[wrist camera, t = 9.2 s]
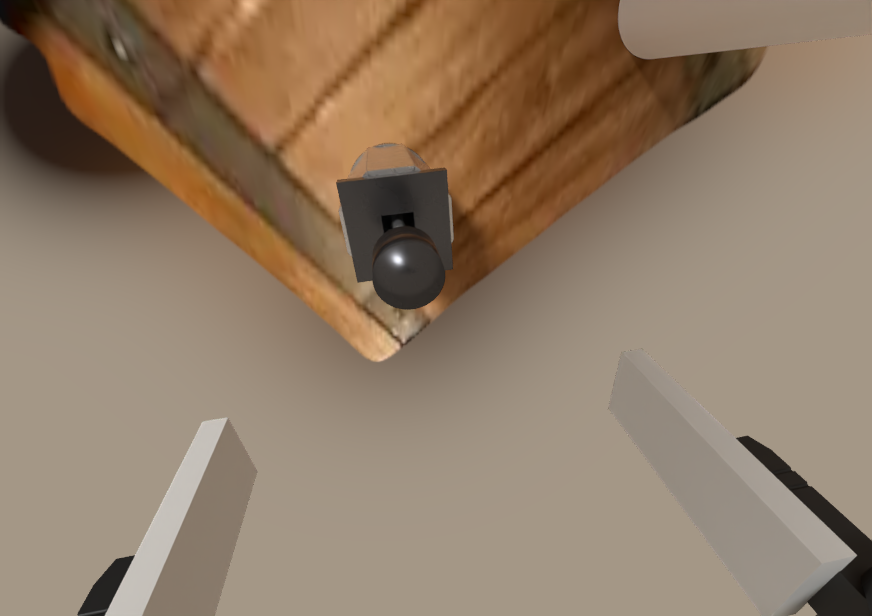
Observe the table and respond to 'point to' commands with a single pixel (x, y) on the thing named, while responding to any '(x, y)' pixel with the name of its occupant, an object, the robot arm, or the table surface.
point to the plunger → (406, 264)
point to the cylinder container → (735, 24)
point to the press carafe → (393, 202)
